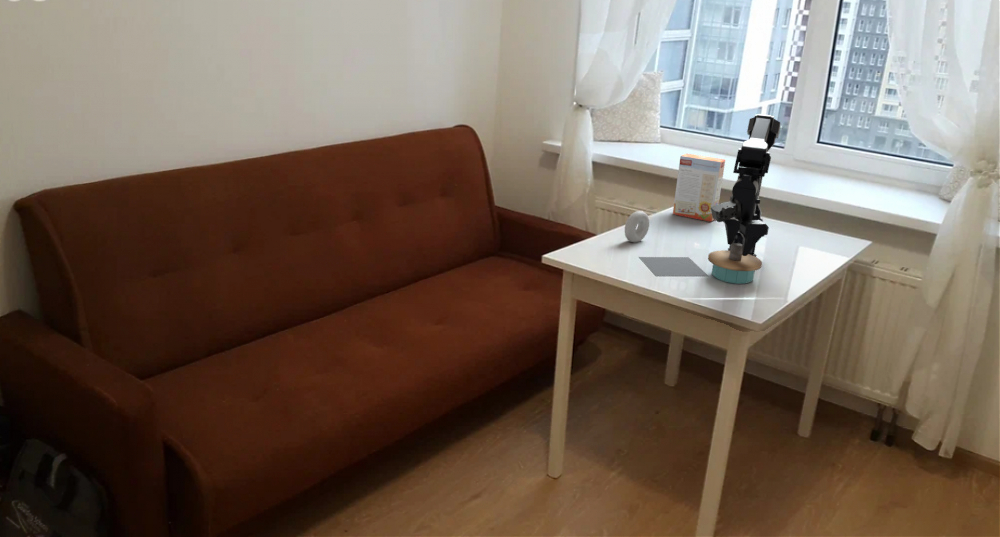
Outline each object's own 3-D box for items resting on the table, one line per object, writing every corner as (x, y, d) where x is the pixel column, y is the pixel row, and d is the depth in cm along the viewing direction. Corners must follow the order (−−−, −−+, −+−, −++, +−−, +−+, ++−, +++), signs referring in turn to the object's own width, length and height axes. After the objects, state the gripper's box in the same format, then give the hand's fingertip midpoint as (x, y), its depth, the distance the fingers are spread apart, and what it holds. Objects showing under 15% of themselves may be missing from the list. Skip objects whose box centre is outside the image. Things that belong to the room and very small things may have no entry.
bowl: (741, 271, 212) (744, 255, 211) (759, 286, 202) (762, 268, 201) (705, 271, 211) (708, 255, 209) (721, 286, 201) (724, 268, 199)
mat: (688, 258, 220) (688, 257, 220) (708, 277, 206) (708, 276, 206) (638, 258, 218) (638, 256, 217) (655, 277, 204) (655, 276, 204)
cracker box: (716, 218, 261) (726, 159, 253) (711, 222, 256) (720, 161, 249) (678, 211, 268) (686, 152, 260) (671, 214, 263) (680, 155, 256)
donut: (629, 247, 227) (633, 214, 224) (620, 243, 229) (624, 212, 226) (649, 241, 234) (653, 209, 230) (640, 238, 236) (644, 207, 232)
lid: (746, 253, 212) (749, 236, 211) (771, 270, 199) (774, 253, 198) (699, 253, 210) (702, 236, 208) (721, 271, 197) (724, 253, 195)
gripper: (703, 184, 206) (695, 238, 211) (732, 203, 188) (722, 262, 194) (742, 184, 207) (733, 238, 213) (774, 203, 190) (763, 262, 195)
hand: (736, 249), depth 204 cm, fingers open, 9 cm apart
